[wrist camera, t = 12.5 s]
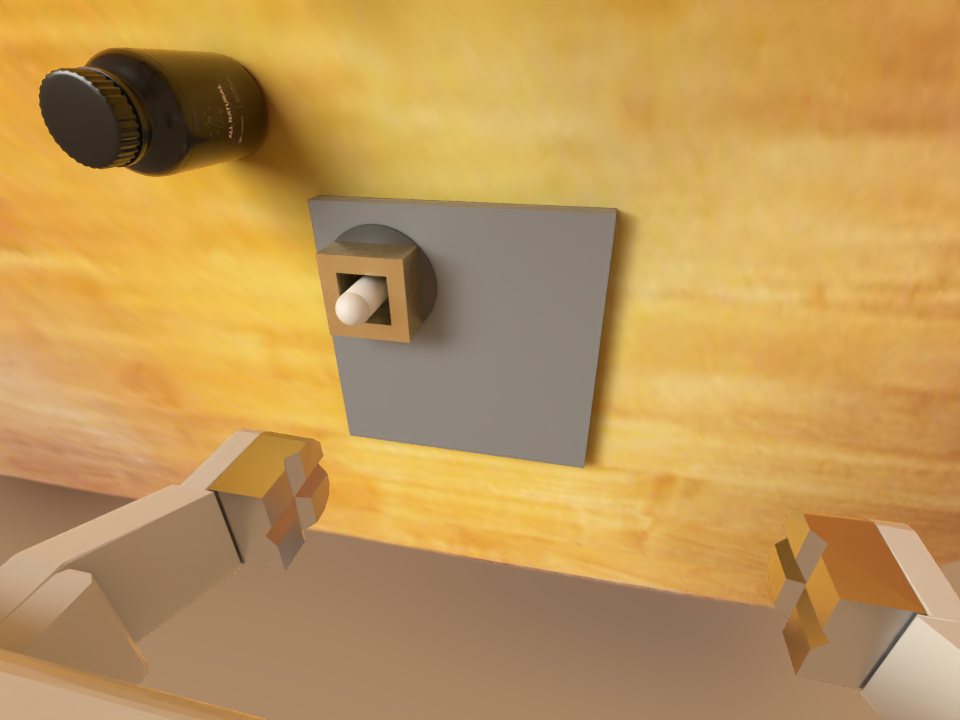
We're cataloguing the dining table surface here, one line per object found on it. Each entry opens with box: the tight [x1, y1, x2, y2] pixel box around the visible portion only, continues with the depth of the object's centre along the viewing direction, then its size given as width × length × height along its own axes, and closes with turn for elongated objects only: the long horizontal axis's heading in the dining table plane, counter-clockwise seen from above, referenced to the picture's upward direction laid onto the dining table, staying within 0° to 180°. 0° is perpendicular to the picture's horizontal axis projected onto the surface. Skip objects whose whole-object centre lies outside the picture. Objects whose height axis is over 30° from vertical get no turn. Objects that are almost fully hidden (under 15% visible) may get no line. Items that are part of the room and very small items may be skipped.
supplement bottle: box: [39, 48, 267, 177], centre depth 31 cm, size 7×7×12 cm
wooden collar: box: [316, 241, 422, 343], centre depth 37 cm, size 6×6×3 cm
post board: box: [308, 195, 617, 468], centre depth 38 cm, size 22×22×8 cm
